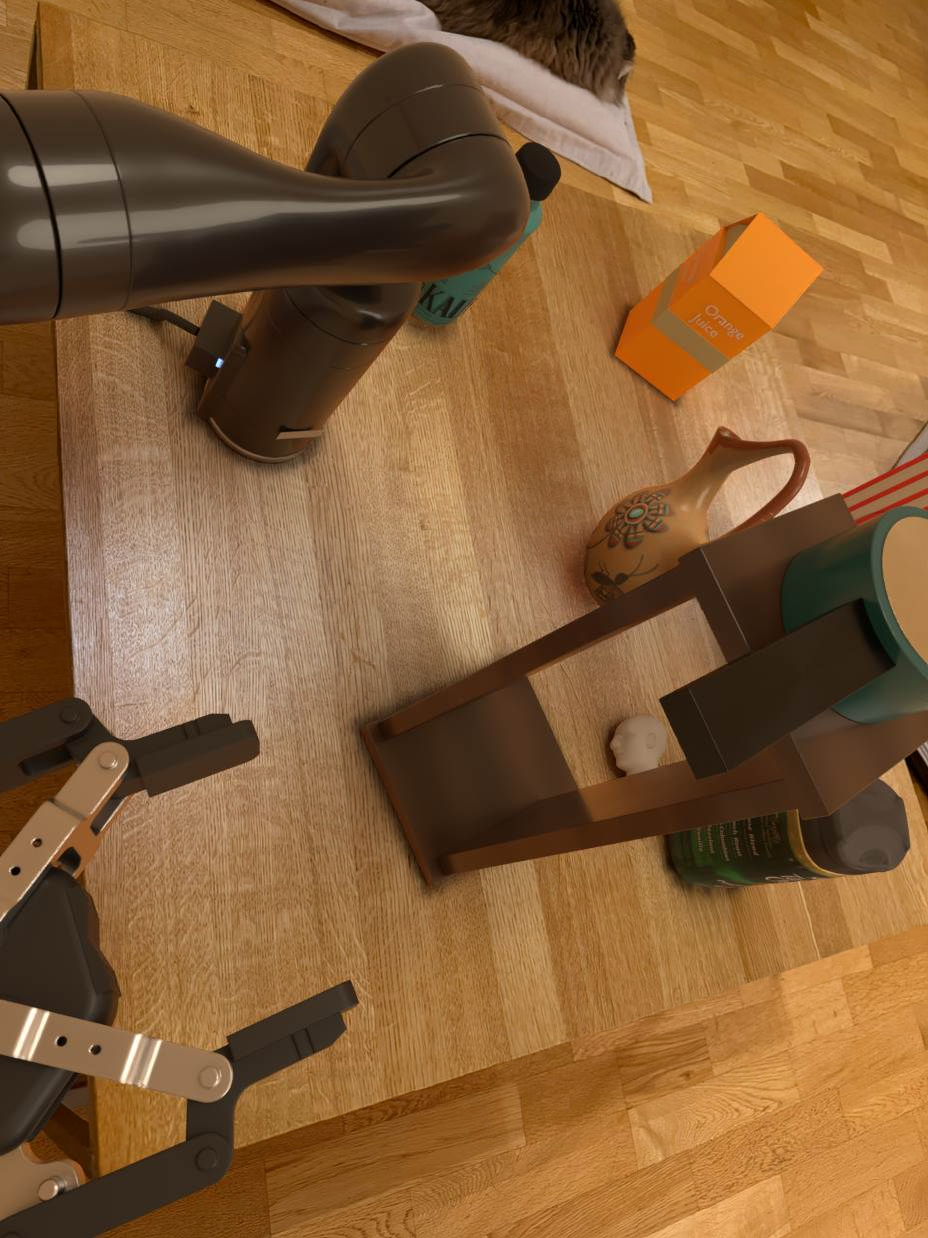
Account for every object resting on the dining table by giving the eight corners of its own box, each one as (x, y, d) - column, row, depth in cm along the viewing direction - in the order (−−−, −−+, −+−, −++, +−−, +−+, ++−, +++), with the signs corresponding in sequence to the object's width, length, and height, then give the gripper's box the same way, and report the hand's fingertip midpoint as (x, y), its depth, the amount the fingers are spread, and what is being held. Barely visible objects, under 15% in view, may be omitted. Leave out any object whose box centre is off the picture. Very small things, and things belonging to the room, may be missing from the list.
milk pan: (679, 863, 36) (782, 848, 32) (579, 647, 36) (667, 605, 32) (933, 687, 48) (1032, 660, 43) (853, 528, 48) (943, 486, 44)
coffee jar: (667, 888, 82) (843, 868, 67) (660, 797, 85) (827, 758, 70) (747, 893, 86) (929, 875, 71) (738, 807, 89) (911, 771, 74)
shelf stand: (428, 886, 70) (829, 816, 41) (359, 727, 72) (699, 546, 42) (575, 802, 80) (990, 694, 50) (512, 663, 81) (879, 476, 51)
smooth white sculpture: (607, 716, 86) (658, 732, 87) (594, 798, 82) (648, 814, 83) (624, 699, 82) (678, 715, 83) (612, 784, 78) (669, 800, 79)
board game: (715, 555, 99) (950, 434, 77) (756, 562, 102) (994, 448, 80) (749, 747, 93) (1017, 674, 71) (792, 748, 96) (1062, 679, 74)
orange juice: (629, 309, 105) (765, 186, 89) (687, 356, 108) (829, 245, 91) (613, 355, 101) (752, 236, 85) (674, 402, 104) (820, 295, 88)
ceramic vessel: (627, 670, 88) (850, 577, 67) (549, 633, 84) (759, 523, 64) (646, 526, 95) (852, 403, 75) (575, 486, 92) (770, 347, 72)
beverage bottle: (416, 266, 90) (532, 110, 74) (464, 317, 91) (589, 175, 75) (378, 297, 87) (492, 140, 70) (429, 350, 88) (553, 208, 72)
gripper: (-362, 1489, 18) (409, 1088, 23) (-429, 811, 23) (222, 611, 28) (-193, 1384, 25) (378, 1090, 30) (-273, 875, 29) (231, 702, 35)
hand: (302, 858), depth 29 cm, fingers open, 8 cm apart
